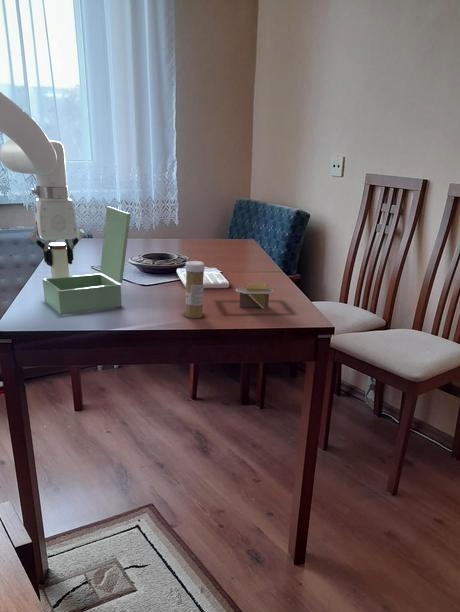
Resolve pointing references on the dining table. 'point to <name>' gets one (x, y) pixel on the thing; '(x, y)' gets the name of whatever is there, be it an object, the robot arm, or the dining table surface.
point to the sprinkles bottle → (194, 289)
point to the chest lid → (115, 243)
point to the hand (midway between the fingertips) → (59, 263)
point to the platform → (254, 295)
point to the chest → (82, 293)
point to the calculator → (207, 278)
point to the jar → (59, 260)
